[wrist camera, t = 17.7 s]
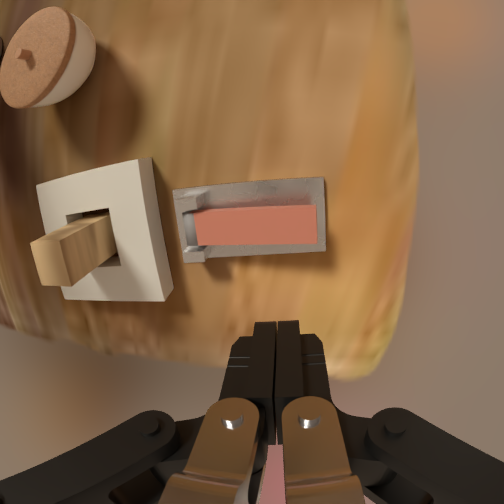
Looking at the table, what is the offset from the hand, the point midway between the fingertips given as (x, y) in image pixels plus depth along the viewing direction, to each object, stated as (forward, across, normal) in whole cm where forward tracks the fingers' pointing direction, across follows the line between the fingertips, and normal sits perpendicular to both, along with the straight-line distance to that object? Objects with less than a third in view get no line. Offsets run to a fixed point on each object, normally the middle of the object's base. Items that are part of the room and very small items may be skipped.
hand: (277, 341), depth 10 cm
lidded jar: (+19, +21, -20) cm, 35 cm away
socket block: (+19, +19, 0) cm, 27 cm away
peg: (+19, +19, 0) cm, 27 cm away
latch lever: (+17, +3, 0) cm, 17 cm away
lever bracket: (+19, +3, 0) cm, 19 cm away
